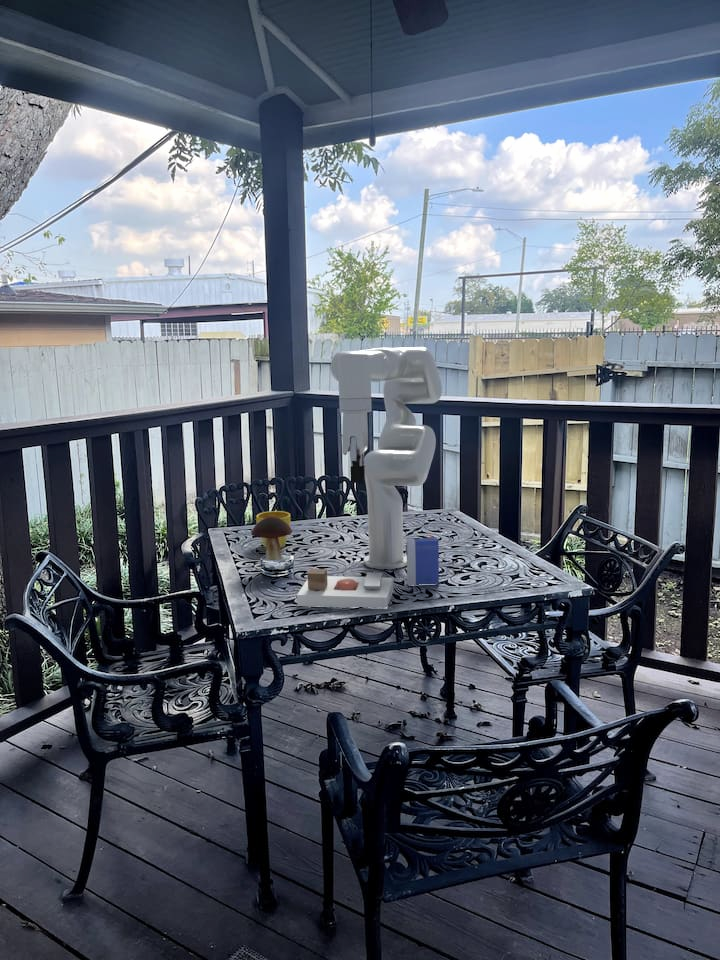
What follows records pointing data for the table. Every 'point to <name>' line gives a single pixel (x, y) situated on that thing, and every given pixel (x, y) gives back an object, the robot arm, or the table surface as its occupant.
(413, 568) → the walkman
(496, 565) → the table surface
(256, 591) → the table surface
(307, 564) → the table surface
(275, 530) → the decorative mushroom
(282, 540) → the plant pot
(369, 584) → the grey rocker
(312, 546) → the table surface
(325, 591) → the control panel
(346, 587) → the red button
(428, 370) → the robot arm
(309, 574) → the walnut slider
